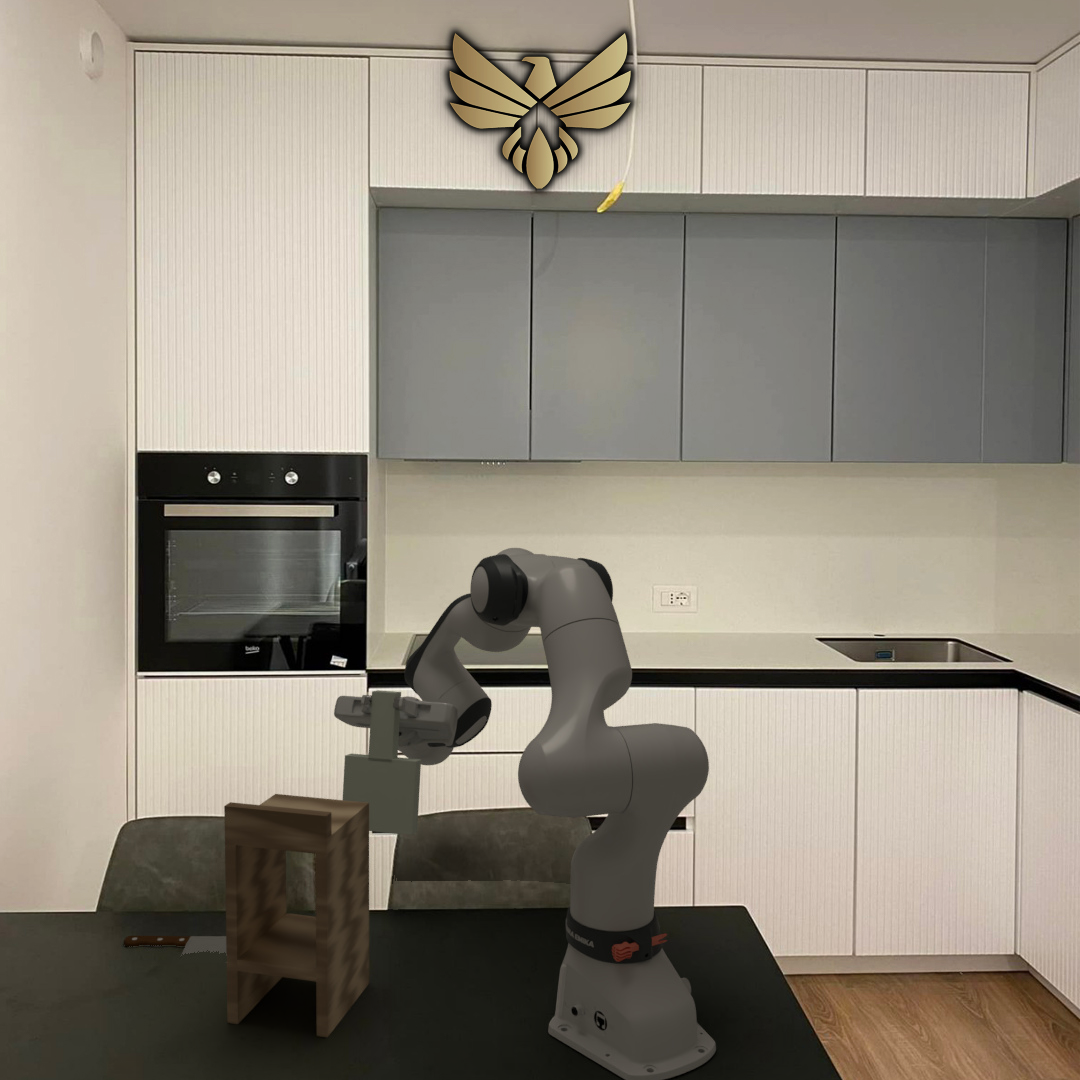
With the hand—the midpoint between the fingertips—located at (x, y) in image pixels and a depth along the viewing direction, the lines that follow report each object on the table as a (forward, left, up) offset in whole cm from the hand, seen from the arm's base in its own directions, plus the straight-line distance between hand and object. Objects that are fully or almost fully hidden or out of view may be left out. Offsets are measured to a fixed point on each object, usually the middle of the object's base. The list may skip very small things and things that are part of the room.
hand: (381, 700), depth 170 cm
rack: (-21, +21, -34) cm, 45 cm away
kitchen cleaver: (+1, +29, -35) cm, 45 cm away
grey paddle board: (+1, -1, -10) cm, 10 cm away
